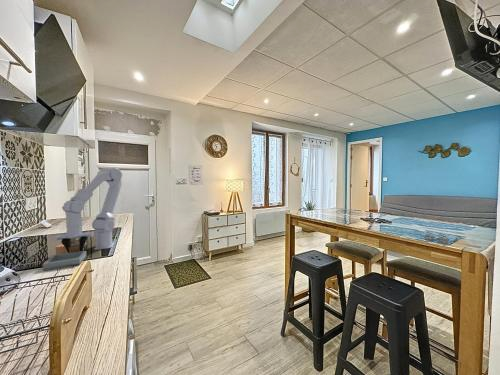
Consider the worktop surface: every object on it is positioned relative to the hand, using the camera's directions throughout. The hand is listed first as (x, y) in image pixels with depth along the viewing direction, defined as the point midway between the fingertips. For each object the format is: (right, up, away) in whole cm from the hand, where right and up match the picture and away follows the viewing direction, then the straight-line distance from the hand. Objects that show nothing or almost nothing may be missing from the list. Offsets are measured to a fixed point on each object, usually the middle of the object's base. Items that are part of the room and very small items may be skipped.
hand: (75, 252), depth 102 cm
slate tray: (+3, -2, -8) cm, 9 cm away
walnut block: (0, -1, 0) cm, 1 cm away
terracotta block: (-7, -2, +1) cm, 7 cm away
